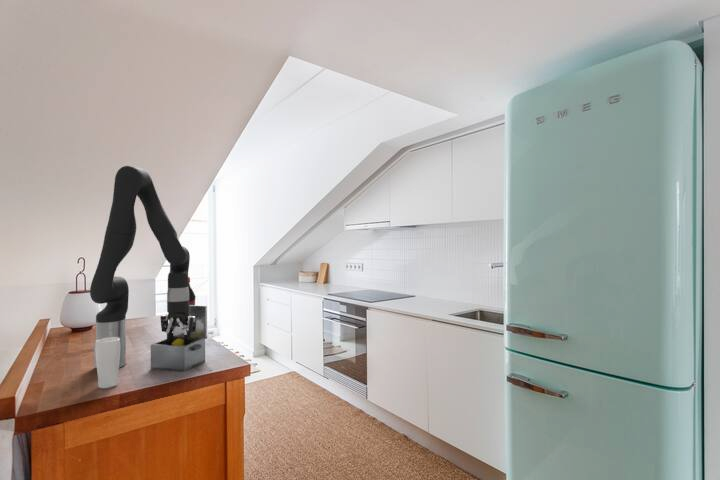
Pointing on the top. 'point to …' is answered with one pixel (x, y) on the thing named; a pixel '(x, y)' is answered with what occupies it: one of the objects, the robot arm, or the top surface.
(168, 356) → the storage box
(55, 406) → the top surface
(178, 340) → the lemon
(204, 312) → the lid
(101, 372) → the drinking glass
